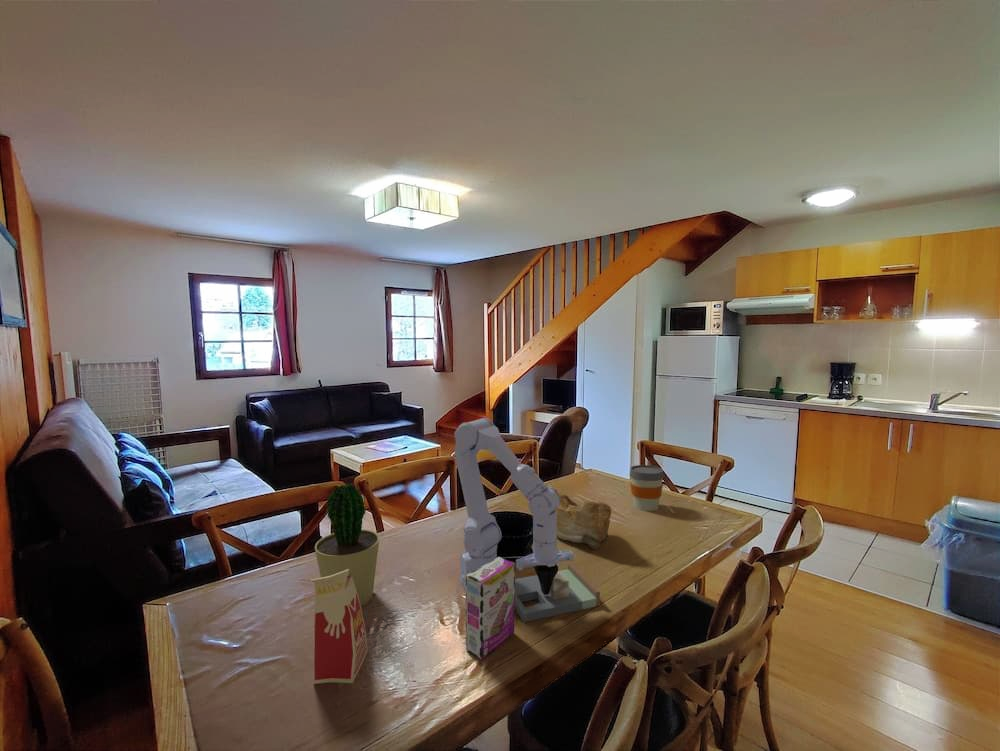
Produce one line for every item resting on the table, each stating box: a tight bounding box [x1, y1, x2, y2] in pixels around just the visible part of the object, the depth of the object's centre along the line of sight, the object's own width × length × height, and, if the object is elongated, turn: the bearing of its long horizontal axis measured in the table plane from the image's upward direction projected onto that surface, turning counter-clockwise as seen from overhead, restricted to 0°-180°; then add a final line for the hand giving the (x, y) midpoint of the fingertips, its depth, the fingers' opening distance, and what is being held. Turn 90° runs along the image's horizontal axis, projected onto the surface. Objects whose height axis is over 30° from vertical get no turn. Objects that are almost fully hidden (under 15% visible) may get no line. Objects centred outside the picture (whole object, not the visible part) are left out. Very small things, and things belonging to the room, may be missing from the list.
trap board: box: [514, 563, 601, 623], centre depth 112 cm, size 20×15×4 cm
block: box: [549, 573, 569, 599], centre depth 110 cm, size 4×4×4 cm
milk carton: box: [310, 569, 369, 685], centre depth 88 cm, size 9×9×20 cm
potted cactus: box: [314, 482, 380, 607], centre depth 112 cm, size 15×15×30 cm
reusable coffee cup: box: [629, 464, 664, 512], centre depth 174 cm, size 13×13×15 cm
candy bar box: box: [465, 556, 516, 660], centre depth 95 cm, size 11×5×16 cm, turn 141°
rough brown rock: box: [554, 492, 612, 550], centre depth 146 cm, size 23×17×15 cm
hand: (545, 592), depth 109 cm, fingers closed
